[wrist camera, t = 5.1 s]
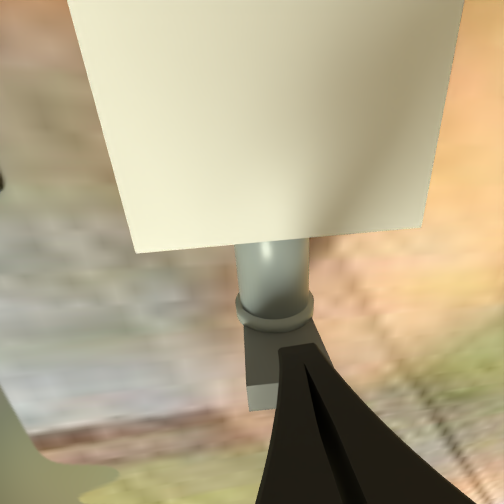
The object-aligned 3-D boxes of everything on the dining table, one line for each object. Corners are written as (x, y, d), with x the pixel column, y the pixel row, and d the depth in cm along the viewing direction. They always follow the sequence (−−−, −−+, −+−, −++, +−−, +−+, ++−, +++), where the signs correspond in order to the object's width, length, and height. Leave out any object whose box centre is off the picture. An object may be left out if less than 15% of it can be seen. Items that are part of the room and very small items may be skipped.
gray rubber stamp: (238, 309, 19) (240, 412, 12) (217, 125, 14) (198, 102, 7) (302, 303, 19) (344, 401, 12) (303, 118, 14) (374, 89, 7)
